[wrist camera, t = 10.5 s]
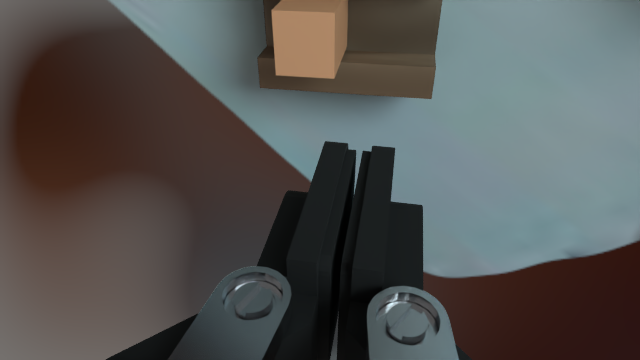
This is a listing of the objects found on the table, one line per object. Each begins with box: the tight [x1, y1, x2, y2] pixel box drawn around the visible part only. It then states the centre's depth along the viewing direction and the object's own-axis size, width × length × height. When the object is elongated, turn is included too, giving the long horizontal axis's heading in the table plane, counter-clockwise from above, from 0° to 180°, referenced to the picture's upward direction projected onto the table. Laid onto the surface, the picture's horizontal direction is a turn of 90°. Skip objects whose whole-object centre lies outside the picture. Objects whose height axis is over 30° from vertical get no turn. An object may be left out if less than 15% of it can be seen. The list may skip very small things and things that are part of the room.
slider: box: [271, 0, 348, 79], centre depth 24 cm, size 3×3×5 cm
